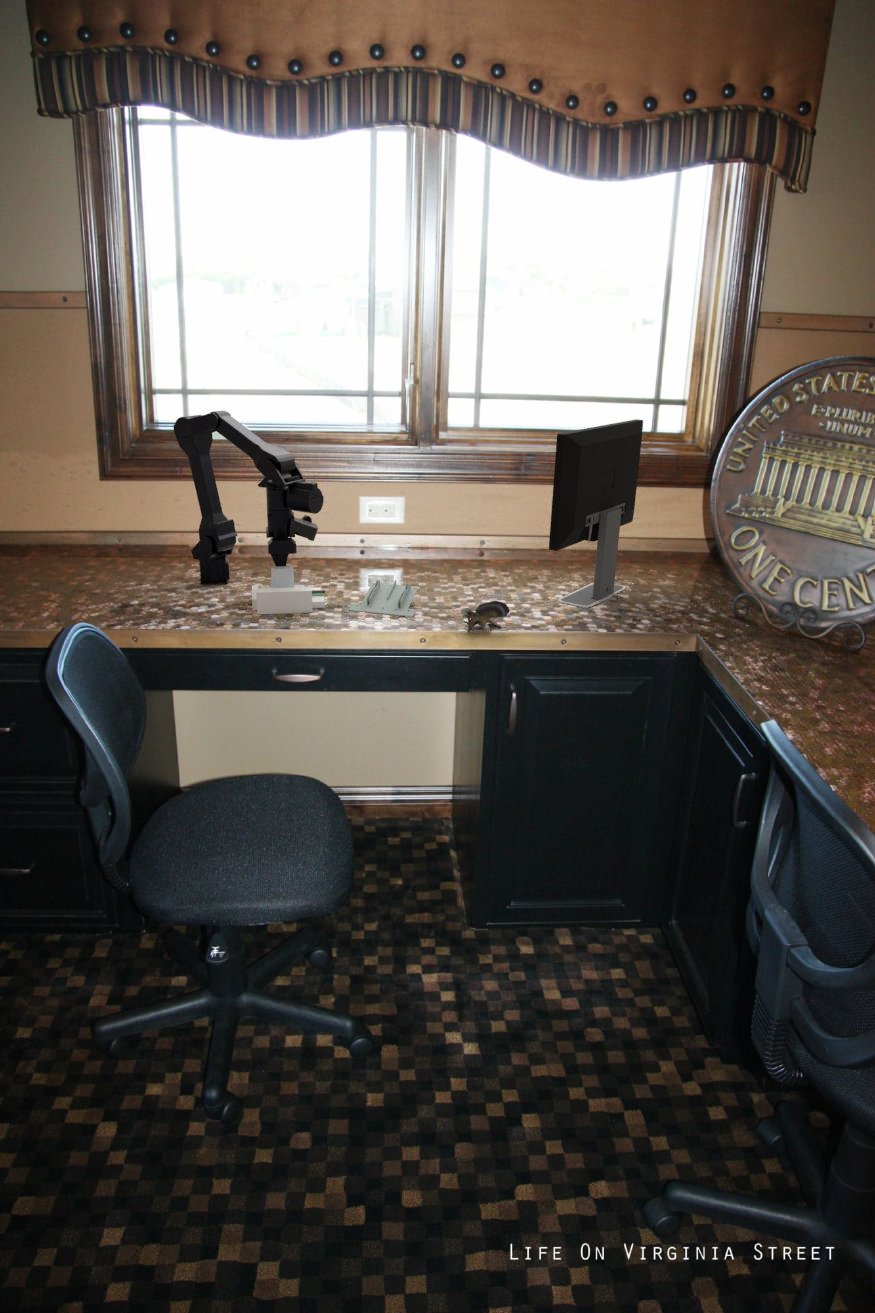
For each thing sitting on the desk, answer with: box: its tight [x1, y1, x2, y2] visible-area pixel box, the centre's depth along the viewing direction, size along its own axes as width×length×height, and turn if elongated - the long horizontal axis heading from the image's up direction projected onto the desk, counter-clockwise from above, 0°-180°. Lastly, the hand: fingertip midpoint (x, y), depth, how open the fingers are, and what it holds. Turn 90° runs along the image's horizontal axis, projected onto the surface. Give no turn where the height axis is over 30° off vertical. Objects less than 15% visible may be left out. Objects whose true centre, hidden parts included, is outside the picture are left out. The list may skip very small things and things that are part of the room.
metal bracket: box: [348, 579, 419, 619], centre depth 209 cm, size 14×6×15 cm
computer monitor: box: [548, 418, 644, 609], centre depth 215 cm, size 41×8×40 cm, turn 145°
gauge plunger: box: [260, 565, 326, 594], centre depth 209 cm, size 14×4×8 cm, turn 101°
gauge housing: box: [251, 584, 326, 615], centre depth 208 cm, size 16×14×5 cm
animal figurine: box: [460, 600, 511, 634], centre depth 195 cm, size 8×7×9 cm
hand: (282, 574), depth 213 cm, fingers closed
